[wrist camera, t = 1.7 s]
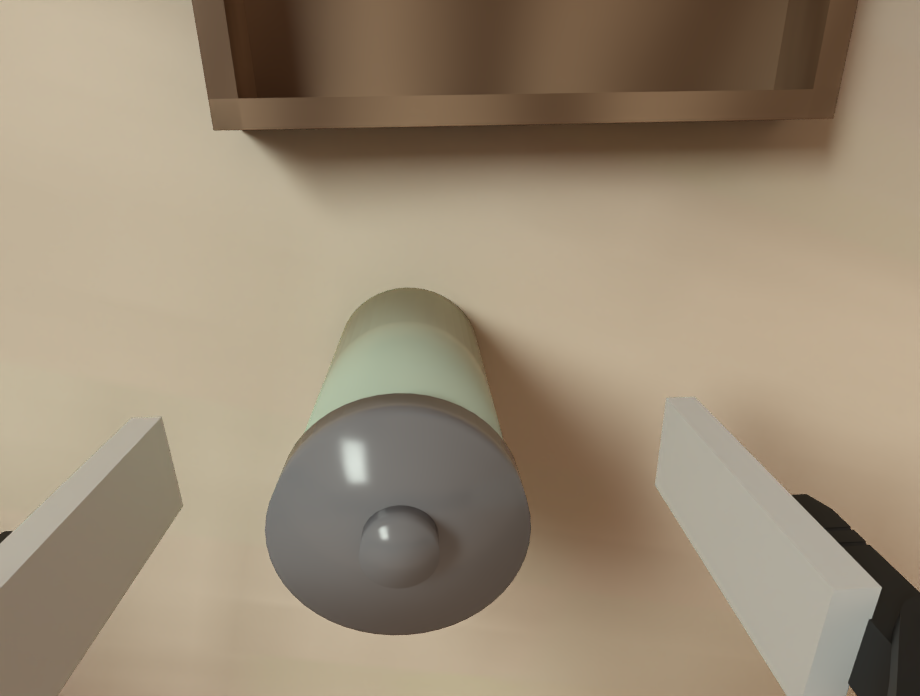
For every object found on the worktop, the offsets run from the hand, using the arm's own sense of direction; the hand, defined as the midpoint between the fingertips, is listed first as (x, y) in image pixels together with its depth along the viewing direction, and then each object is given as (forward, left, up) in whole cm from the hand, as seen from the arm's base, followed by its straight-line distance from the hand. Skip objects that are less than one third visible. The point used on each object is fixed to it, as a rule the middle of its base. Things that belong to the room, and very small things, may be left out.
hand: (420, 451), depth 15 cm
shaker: (0, 0, -7) cm, 7 cm away
